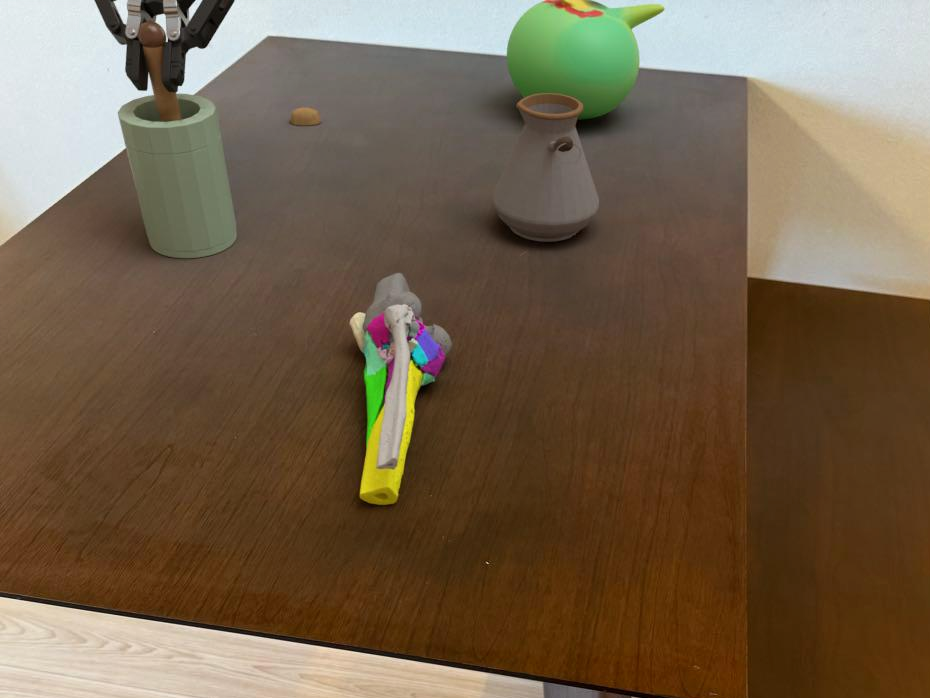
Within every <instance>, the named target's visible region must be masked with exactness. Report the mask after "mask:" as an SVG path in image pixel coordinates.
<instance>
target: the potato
mask: <svg viewBox="0 0 930 698" xmlns="http://www.w3.org/2000/svg"><path fill="white" fill-rule="evenodd" d="M289 116H290V118H289V120H290V121H289V122H290V123H291V124H292V125H294V126H315V125H318V124H321V123H322V119H321V118H322V117H321V114H320V113H319V111H318V110H316V109H315V108H312V107H307V106H305V107H304V106H303V107H298V108H295V109H293V110H292V111H291V114H290V115H289Z"/></svg>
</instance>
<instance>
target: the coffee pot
mask: <svg viewBox="0 0 930 698" xmlns="http://www.w3.org/2000/svg"><path fill="white" fill-rule="evenodd" d="M515 107H516V109H518V111H519V114H520V116H521V117H522V119H523V121H524V126H523V128H522V130H521V132H520V134H519V136H518V139H517V141H516V143H515V144H514V145H515V146H514V148H513V149H512V152H511V154H510V156H509V158H508V160H507V163H506V165H505V167H504V169H503V172H502V173H501V176H500V178H499V180H498V182H497V185H496V186H495V188H494V191H493V195H492V204H493V207H494V209H495V212H496V214H497V217H498V218H499V219H500V220H501V221H502V222H503V223H504V224H505V225H506V226H507V227H509V228H510V230H511V231H512V232H513V233H514V234H516V235H517V236H519V237H521V238H523V239H526V240H530V241H535V242H544V243H545V242H548V243H549V242H550V243H551V242H558V241H565V240H568V239H570V238H573V237H574V236H576V235H577V234H578V233H579V232H580V231H581V230H583V229H584V228H586V226H588V225H589V224H590V223H592V221H593V219H594V217H595V216H596V214H597V213H598V211H599V208H600V199H599V195H598V191H597V189H596V186H595V183H594V179H593V176H592V174H591V170H590V168H589V165H588V162H587V158H586V155H585V152H584V148H583V146H582V143H581V140H580V136H579V134H578V131H577V128H576V124H577V121H578V120H577V118H578V115H580V114H581V112H582V111H583V104H582V103H581V102H580V101H579V100H577V99H575V98H573V97H570V96H567V95H562V94H553V93H541V94H534V95H530V96H527V97H525V98H524V97H522V98H521V99H520V100H518V102H517V103H516V105H515ZM576 233H577V234H576ZM573 235H574V236H573ZM572 236H573V237H572Z"/></svg>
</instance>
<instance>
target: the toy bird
mask: <svg viewBox="0 0 930 698" xmlns="http://www.w3.org/2000/svg"><path fill="white" fill-rule="evenodd" d="M665 9H666V8H665V6H664V5H662V4H657V3H656V4H655V3H653V4H650V3H649V4H639V5H631V6H622V7H609V6H607V5H605V4H603V3H601V2H598V1H595V0H543V1H540V2H539V3H536V4H535V5H533V6H531V7H529V8H528V9H527V10H526V11H525V12H524V13H523V14H522V15H521V16H520V17H519V19H518V20H517V21H516V22H515V24H514V26H513V28H512V30H511V33H510V35H509V37H508V38H509V39H508V41H507V47H506V64H507V70H508V73H509V76H510V79H511V82H512V83H513V85H514V87H515V89H516V90H517V91H518V93H519V94H520V95H521V96H522V98H525V97H527V96H530V95H534V94H541V93H553V94H562V95H567V96H570V97H573V98H575V99H577V100H579V101H580V102H581V103H582V104H583V111H582V112H581V114H580V115H578V118H577V121H578V120H590V119H594V118H598V117H602V116H603V115H606V114H607V113H610V112H611V111H614V110H615V109H616V108H617V107H619V106H620V105H621V104H622V103H623V102H624V101H625V100H626V98H627V97H628V96H629V94H630V93H631V91H632V90H633V88H634V86H635V84H636V81H637V80H638V79H637V78H638V76H639V70H640V61H641V59H640V50H639V45H638V41H637V38H636V36H635V34H634V31H633V29H634V28H636V27H638V26H639V25H642V24H643V23H645V22H647V21H649V20H652V19H653V18H655V17H657V16H658V15H660V14H661V13H663V12H664V11H665Z"/></svg>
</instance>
